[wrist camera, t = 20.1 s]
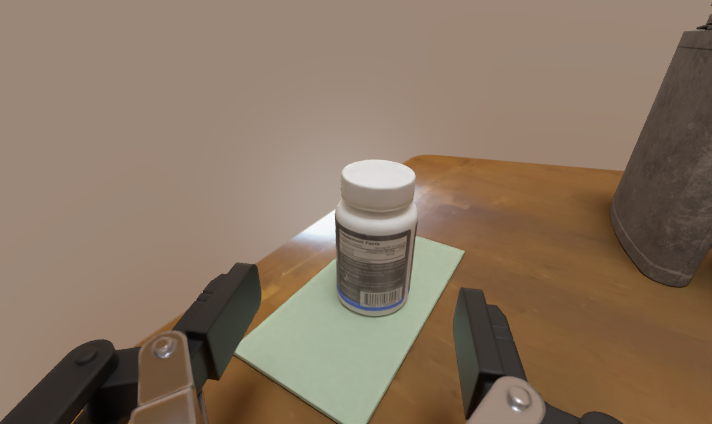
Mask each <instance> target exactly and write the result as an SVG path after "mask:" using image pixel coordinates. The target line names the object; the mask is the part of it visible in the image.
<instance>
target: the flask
mask: <svg viewBox="0 0 712 424" xmlns="http://www.w3.org/2000/svg"><path fill="white" fill-rule="evenodd" d="M711 6H712V4H711ZM697 29H705V30H704V31H703V30H700V31H685V32H684V33H683V35H682V37H681V40H680V42H679V44H678V47H677V49H676V52H675V54H674V56H673V58H672V61H671V63H670V66H669V68H668V70H667V73H666V75H665V77H664V80H663V82H662V84H661V87H660V89H659V92H658V94H657V96H656V99H655V101H654V103H653V105H652V108H651V110H650V113H649V115H648V117H647V120H646V122H645V124H644V127H643V129H642V131H641V134H640V136H639V138H638V141H637V143H636V145H635V148H634V150H633V153H632V155H631V157H630V160H629V162H628V164H627V167H626V169H625V171H624V174H623V176H622V178H621V181H620V183H619V185H618V188H617V190H616V192H615V195H614V197H613V199H612V202H611V204H610V218H611V222H612V226H613V228H614V231H615V233H616V235H617V237H618V239H619V241H620V243H621V244H622V246H623V248H624V249H625V251H626V252H627V254H628V255H629V257H630V258H631V259H632V261H633V262H634V263H635V264H636V266H637V267H638V268H639V269H640V271H641V272H642V273H643V274H645V275H646V276H647V277H649V278H651V279H653V280H655V281H657V282H659V283H662V284H665V285H669V286H675V287H683V286H686V285H688V283H689V282H690V280H691V278H692V277H693V275H694V274H695V272H696V270H697V269H698V267H699V266H700V264H701V263H702V261H703V259H704V258H705V256H706V255H707V253H708V251H709V250H710V248H711V247H712V14H710V16H709V19H708V21H707V23H706V25H703V26H700V27H697Z"/></svg>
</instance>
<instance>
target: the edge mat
mask: <svg viewBox="0 0 712 424" xmlns="http://www.w3.org/2000/svg"><path fill="white" fill-rule="evenodd" d="M464 254H465V251H463V250H459V249H456V248H453V247H450V246H447V245H444V244H440V243H437V242H434V241H431V240H428V239H425V238H421V237H418V236H416V238H415V247H414V256H413V265H412V273H411V282H410V290H409V295H408V298H407V300H406V302H405V303H404V304H403V305H402V306H401V307H400V308H399V309H398V310H396V311H394V312H392V313H390V314H386V315H381V316H368V315H364V314H360V313H357V312H355V311H353V310H351V309H349V308H348V307H347V306H345V305H344V304H343V303H342V302H341V300H340V298H339V296H338V293H337V273H336V269H337V268H336V258H335V259H334V260H333V261H332V262H330V263H329V264H328V265H327V266H326V267H325V268H324V269H322V270H321V271H320V272H319V273H318V274H317V275H316V276H314V277H313V278H312V279H311V280H310V281H309V282H308V283H306V284H305V285H304V286H303V287H302V288H301V289H300V290H299V291H297V292H296V293H295V294H294V295H293V296H292V297H291V298H289V299H288V300H287V301H286V302H285V303H284V304H283V305H281V306H280V307H279V308H278V309H277V310H276V311H275V312H273V313H272V314H271V315H270V316H269V317H268V318H267V319H265V320H264V321H263V322H262V323H261V324H260V325H259V326H257V327H256V328H255V329H254V330H253V331H252V332H251V333H249V334H248V335H247V336H246V337H245V338H244V339H243V340H241V342H240V343H239V345H238V347H237V349H236V351H235V352H234V355H236V356H237V357H239V358H240V359H242V360H243V361H245V362H246V363H248V364H249V365H251V366H252V367H254V368H255V369H257V370H258V371H260V372H261V373H263V374H264V375H266V376H267V377H269V378H270V379H272V380H273V381H275V382H276V383H278V384H279V385H281V386H282V387H284V388H285V389H287V390H288V391H290V392H291V393H293V394H294V395H296V396H297V397H299V398H300V399H302V400H303V401H305V402H306V403H308V404H309V405H311V406H312V407H314V408H315V409H317V410H318V411H320V412H321V413H323V414H324V415H326V416H327V417H329V418H330V419H332V420H333V421H335V422H336V423H338V424H368V422H369V420H370V419H371V417H372V415H373V413H374V412H375V410H376V408H377V406H378V405H379V403H380V401H381V399H382V398H383V396H384V394H385V392H386V391H387V389H388V387H389V385H390V384H391V382H392V380H393V378H394V377H395V375H396V373H397V371H398V370H399V368H400V366H401V364H402V363H403V361H404V359H405V357H406V356H407V354H408V352H409V350H410V349H411V347H412V345H413V343H414V342H415V340H416V338H417V336H418V335H419V333H420V331H421V329H422V328H423V326H424V324H425V322H426V321H427V319H428V317H429V315H430V314H431V312H432V310H433V308H434V307H435V305H436V303H437V301H438V300H439V298H440V296H441V294H442V292H443V291H444V289H445V287H446V285H447V284H448V282H449V280H450V278H451V277H452V275H453V273H454V271H455V270H456V268H457V266H458V264H459V263H460V261H461V259H462V257H463V256H464Z"/></svg>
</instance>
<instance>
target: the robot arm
mask: <svg viewBox="0 0 712 424" xmlns="http://www.w3.org/2000/svg"><path fill="white" fill-rule="evenodd" d="M260 303H261V287H260V281H259V274H258V268H257V266H256V265H255V264H247V263H236V264H235V265H234V266H233V267H232V269H231V270H230V271H229V272H228V274H221V275H219V276H218V277H217V278H215V279H214V280H212V281H211V282H210V283H209V284H208V285H207V287H206V288H205V289H204V290H203V293H201V294H200V295H199V297H198V298H197V300H196V301H195V302H194V303H193V304H192V305H191V307H190V308H189V309H188V310H187V311H186V313H185V314H184V315H183V316H182V318H181V319H180V320H179V321H178V323H177V324H176V325H175V326H174V328H173V329H172V330H171V331H166V332H162V333H160V334H157V335H155V336H154V337H152V338H150V339H149V340H148V341H147V342H146V343H145V344H144V345H143V346H142V347H136V348H129V349H122V350H115V348H114V346H113V344H112V343H111V342H110V341H108V340H94V341H90V342H87V343H85V344H82V345H80V346H78V347H77V348H75V349H73V350H72V351H71V352H69V353H68V354H67V355H66V356H65V357H64V358H63V359H62V360H61V361H60V362H59V363H58V364H57V365H56V366H55V367H54V369H52V370H51V371H50V372H49V373H48V374H47V375H46V376H45V377H44V378H43V379H42V380H41V381H40V382H39V383H38V384H37V385H36V386H35V387H34V388H33V389H32V390H31V391H30V392H29V393H28V394H27V396H25V398H23V400H22V401H21V402H19V403H18V405H17V406H16V407H15V408H14V409H13V410H12V411H11V412H10V413H9V414H8V415H7V416H6V417H5V418H4V419H3V420H2V421H1V422H0V424H71V423H72V421H73V420H74V419H75V418H76V416H77V415H78V414H79V413H80V411H81V410H82V409H83V411H82V413H81V414H80V415H79V416H78V418H77V419H76V420H75V421H74V423H73V424H127V423H128V422H129V420H130V424H209V423H208V417H207V410H206V404H205V398H204V392H203V388H202V387H203V386H204V384H205V382H206V380H207V379H212V380H218V381H219V380H220V378H221V376H222V374H223V372H224V371H225V369H226V367H227V365H228V363H229V362H230V360H231V358H232V356H233V354H234V352H235V351H236V349H237V347H238V345H239V343H240V342H241V340H242V338H243V336H244V334H245V332H246V331H247V329H248V327H249V325H250V323H251V322H252V320H253V318H254V316H255V314H256V312H257V311H258V309H259V306H260ZM453 335H454V342H455V349H456V356H457V363H458V371H459V378H460V385H461V392H462V399H463V406H464V413H465V419H466V420H468V421H467V422H466V424H623V423H621V422H620V421H619V420H617V419H615V418H614V417H612V416H610V415H607V414H605V413H601V412H588V413H586V414H584V415H583V416H582V417H581V418H578V417H576V416H573V415H571V414H569V413H566V412H564V411H562V410H559V409H557V408H555V407H553V406H551V405H549V404H548V403H546V402H545V401H544V400H543V398H542V396H541V395H540V394H539V392H538V391H537V390H536V389H535V388H534V387H533V386H532V385H530V384H529V383H528V381H527V378H526V375H525V372H524V369H523V366H522V363H521V360H520V357H519V354H518V351H517V348H516V345H515V342H513V336H512V333H511V331H510V327H509V324H508V321H507V319H506V316H505V315H504V314H503V313H502V311H501V310H500V309H499V308H498V307H497V306H496V305H488V304H486V301H485V297H484V293H483V291H482V290H480V289H471V288H460V291H459V296H458V300H457V305H456V309H455V314H454V320H453Z"/></svg>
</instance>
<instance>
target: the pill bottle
mask: <svg viewBox="0 0 712 424" xmlns="http://www.w3.org/2000/svg"><path fill="white" fill-rule="evenodd" d="M414 189H415V173H414V172H413V170H412V169H410V168H409V167H407V166H405V165H403V164H399V163H397V162H393V161H386V160H364V161H359V162H355V163H351V164H349V165H347V166H346V167H345V168H344V169H343V171H342V175H341V193H342V194H341V195H342V199H341V200H340V201H339V203H338V205H337V207H336V211H335V225H336V268H337V269H336V273H337V293H338V296H339V298H340V300H341V302H342V303H343V304H344V305H345V306H347V307H348V308H349V309H351V310H353V311H355V312H357V313H360V314H364V315H368V316H381V315H386V314H390V313H392V312H394V311H396V310H398V309H399V308H400V307H401V306H402V305H403V304H404V303H405V302H406V300H407V298H408V295H409V290H410V282H411V273H412V265H413V256H414V247H415V238H416V231H417V223H418V211H417V208H416V206H415V204H414V203H413V202H412V201H413V196H414Z"/></svg>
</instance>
